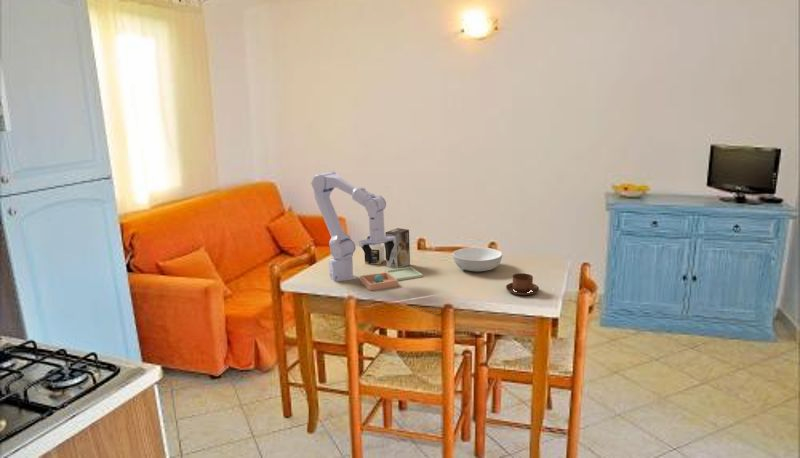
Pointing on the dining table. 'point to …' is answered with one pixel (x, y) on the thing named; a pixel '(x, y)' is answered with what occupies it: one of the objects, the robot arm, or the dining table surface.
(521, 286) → the cup and saucer
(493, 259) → the serving bowl
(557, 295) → the dining table surface
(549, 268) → the dining table surface
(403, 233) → the coffee box
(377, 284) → the dish
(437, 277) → the dining table surface
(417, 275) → the tray
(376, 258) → the medicine bottle
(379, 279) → the ball
